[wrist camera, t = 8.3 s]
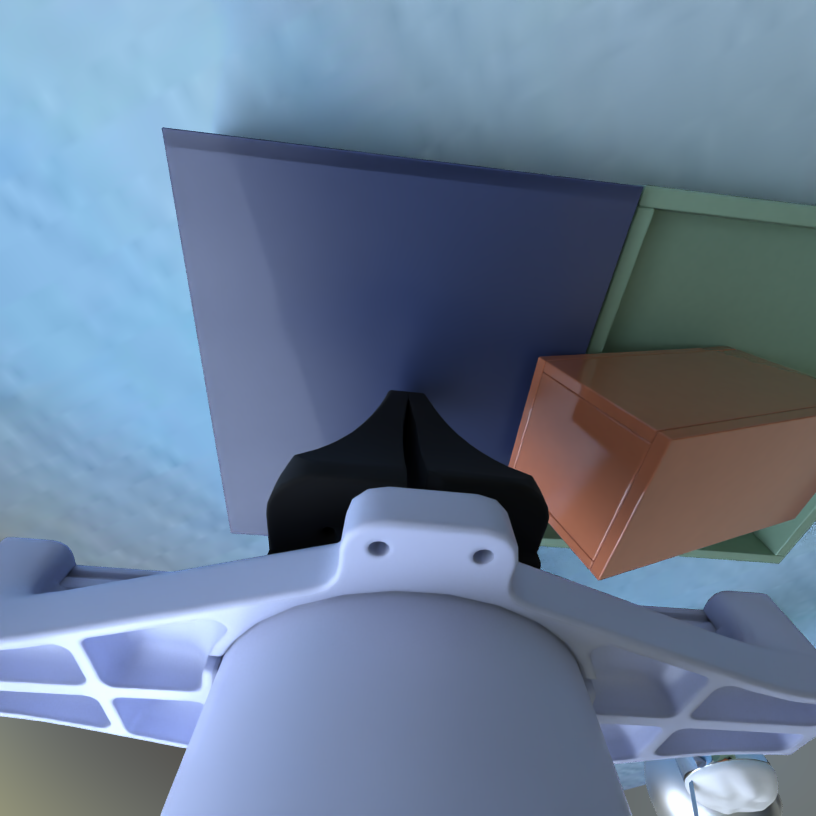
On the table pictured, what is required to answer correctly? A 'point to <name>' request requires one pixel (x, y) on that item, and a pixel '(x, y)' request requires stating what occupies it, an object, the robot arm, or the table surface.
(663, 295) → the tray
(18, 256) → the table surface
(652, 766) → the ghost figurine
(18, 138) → the table surface
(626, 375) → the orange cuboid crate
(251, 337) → the book
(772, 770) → the milkshake
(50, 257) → the table surface
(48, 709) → the robot arm
